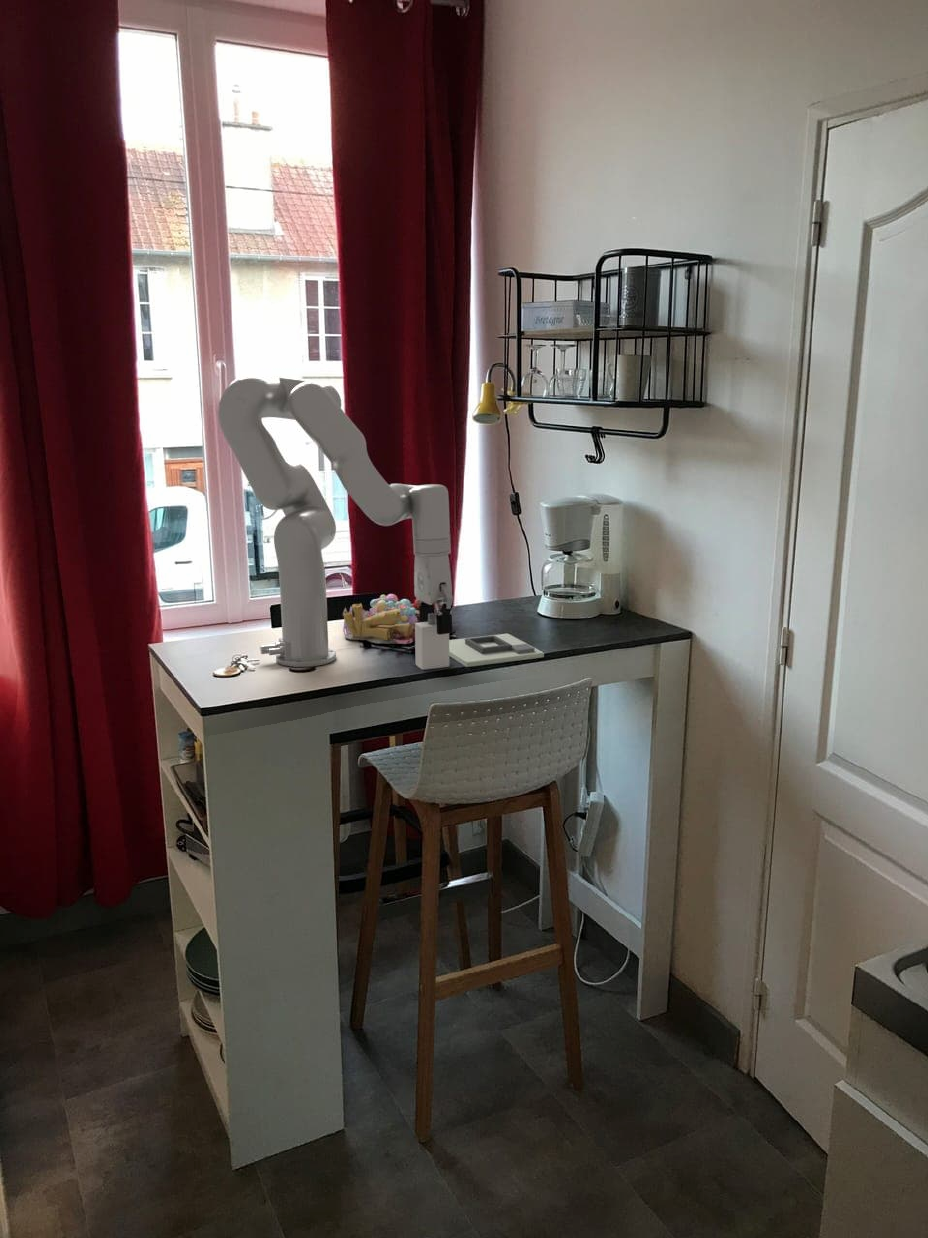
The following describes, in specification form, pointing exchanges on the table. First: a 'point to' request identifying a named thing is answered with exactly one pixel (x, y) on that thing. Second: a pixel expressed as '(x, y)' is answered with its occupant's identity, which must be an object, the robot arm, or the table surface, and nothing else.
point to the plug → (431, 645)
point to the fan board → (491, 650)
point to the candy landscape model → (383, 621)
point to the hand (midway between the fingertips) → (435, 628)
